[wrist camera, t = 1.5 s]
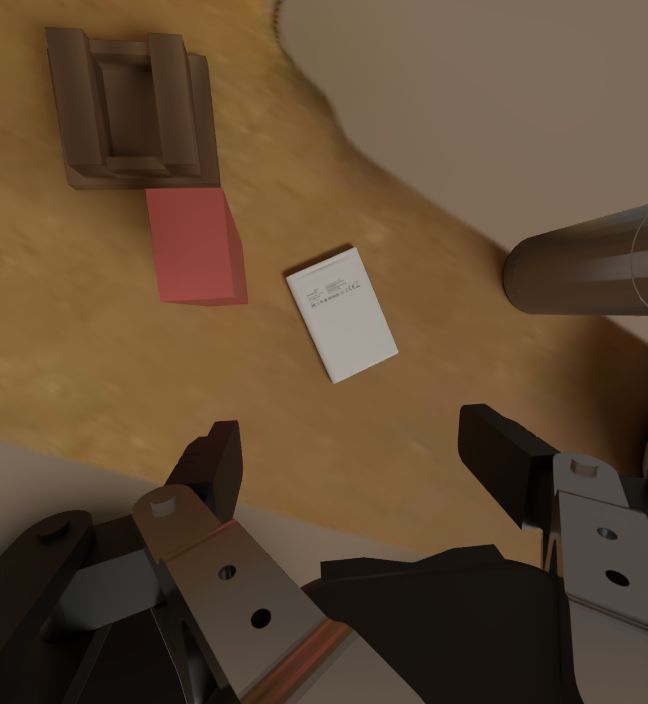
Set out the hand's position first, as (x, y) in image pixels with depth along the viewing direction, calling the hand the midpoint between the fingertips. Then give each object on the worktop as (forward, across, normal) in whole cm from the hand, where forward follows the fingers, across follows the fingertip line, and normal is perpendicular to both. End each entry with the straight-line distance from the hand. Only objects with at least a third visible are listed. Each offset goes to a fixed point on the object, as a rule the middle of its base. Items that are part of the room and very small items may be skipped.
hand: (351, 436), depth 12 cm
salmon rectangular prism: (+25, +9, -5) cm, 27 cm away
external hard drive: (+26, -3, 0) cm, 27 cm away
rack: (+26, +15, -19) cm, 36 cm away
